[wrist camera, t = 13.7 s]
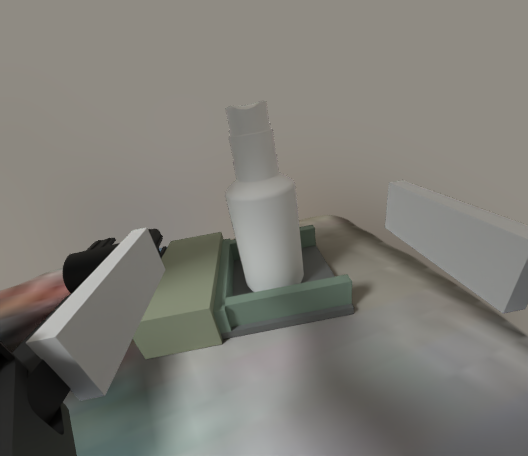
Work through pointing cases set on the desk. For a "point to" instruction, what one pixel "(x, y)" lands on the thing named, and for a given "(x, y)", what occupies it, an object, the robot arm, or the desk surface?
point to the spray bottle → (262, 203)
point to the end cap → (95, 260)
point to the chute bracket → (232, 296)
